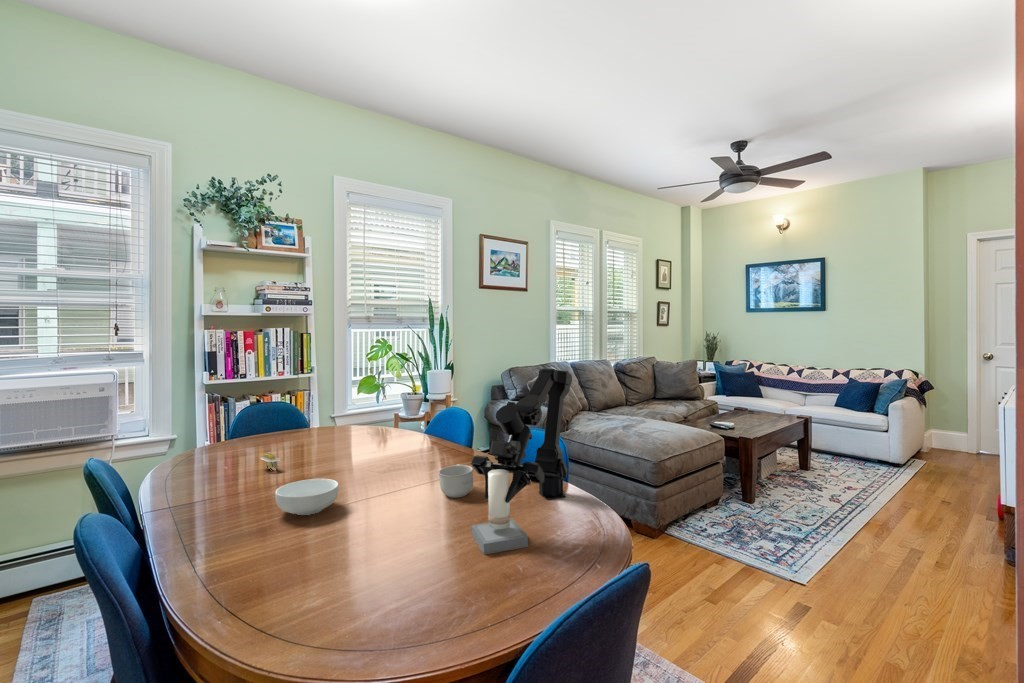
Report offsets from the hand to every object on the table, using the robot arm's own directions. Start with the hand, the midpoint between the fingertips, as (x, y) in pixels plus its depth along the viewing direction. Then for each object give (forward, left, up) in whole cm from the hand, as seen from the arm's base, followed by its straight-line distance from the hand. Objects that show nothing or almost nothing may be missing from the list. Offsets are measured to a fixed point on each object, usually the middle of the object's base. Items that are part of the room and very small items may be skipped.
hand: (496, 500), depth 114 cm
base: (-1, -1, -10) cm, 11 cm away
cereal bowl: (+45, -39, -11) cm, 60 cm away
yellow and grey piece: (+62, -87, -11) cm, 107 cm away
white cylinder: (-1, -1, -7) cm, 7 cm away
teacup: (+1, -38, -11) cm, 39 cm away
